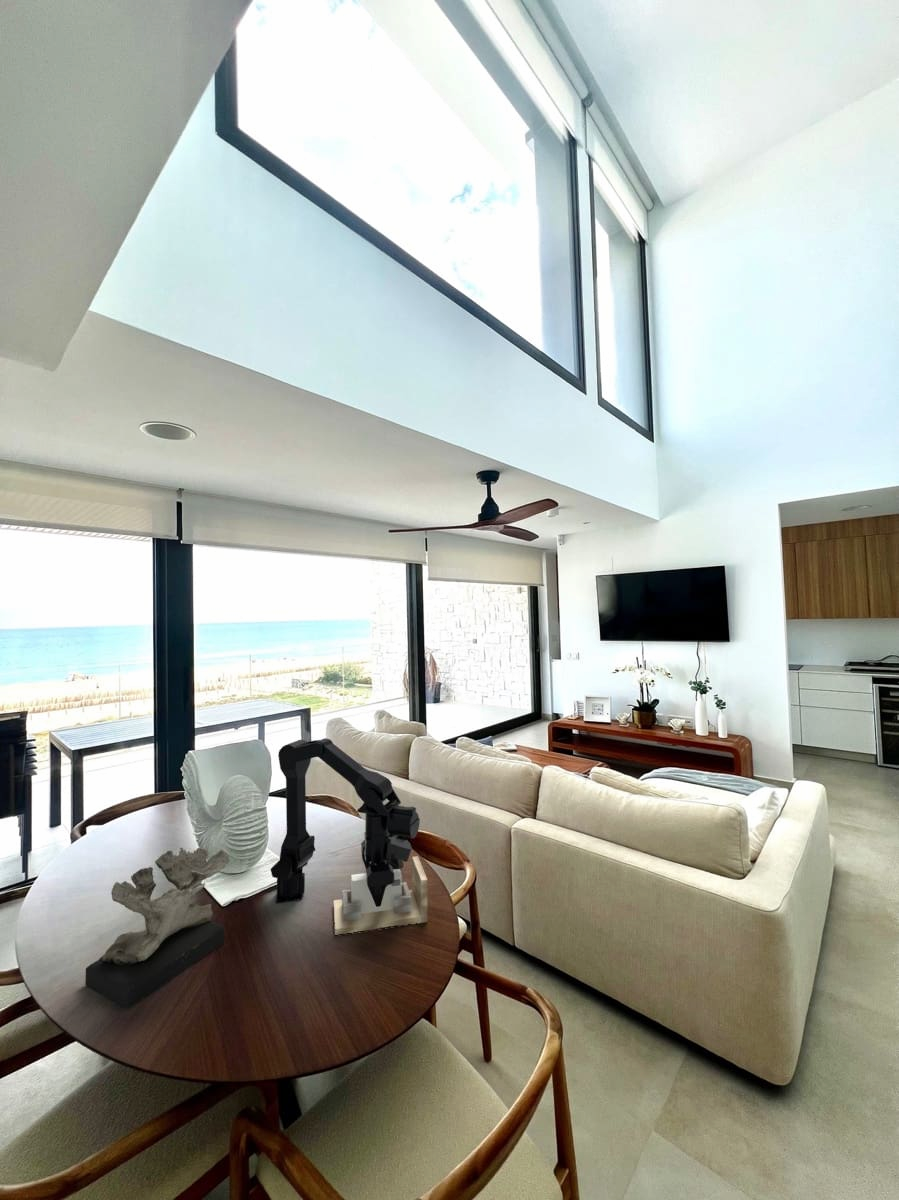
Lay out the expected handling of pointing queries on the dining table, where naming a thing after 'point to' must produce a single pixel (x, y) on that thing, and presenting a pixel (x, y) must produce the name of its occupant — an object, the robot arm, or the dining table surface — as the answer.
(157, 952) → the coral
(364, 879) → the door
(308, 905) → the dining table surface
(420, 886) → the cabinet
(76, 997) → the dining table surface
